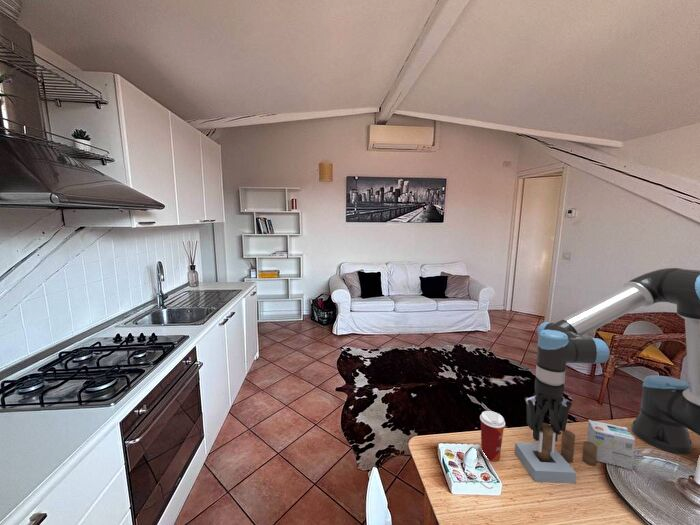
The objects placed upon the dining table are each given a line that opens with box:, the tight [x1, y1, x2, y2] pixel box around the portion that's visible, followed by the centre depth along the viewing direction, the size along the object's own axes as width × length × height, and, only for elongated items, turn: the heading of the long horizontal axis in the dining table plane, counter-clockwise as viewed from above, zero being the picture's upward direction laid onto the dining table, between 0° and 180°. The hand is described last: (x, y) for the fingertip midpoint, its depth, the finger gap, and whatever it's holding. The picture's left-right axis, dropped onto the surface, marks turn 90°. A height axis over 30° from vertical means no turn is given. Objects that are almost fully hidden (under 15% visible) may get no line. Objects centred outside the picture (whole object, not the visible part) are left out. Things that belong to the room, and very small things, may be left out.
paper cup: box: [479, 410, 506, 462], centre depth 98 cm, size 8×8×14 cm
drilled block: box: [514, 442, 577, 484], centre depth 94 cm, size 12×12×4 cm
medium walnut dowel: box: [560, 429, 576, 464], centre depth 97 cm, size 3×3×9 cm
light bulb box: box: [586, 419, 636, 471], centre depth 97 cm, size 11×7×11 cm, turn 65°
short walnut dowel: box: [582, 440, 597, 467], centre depth 96 cm, size 3×3×6 cm
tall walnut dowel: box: [537, 422, 552, 462], centre depth 93 cm, size 3×3×13 cm
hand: (544, 449), depth 94 cm, fingers closed on tall walnut dowel, 3 cm apart
